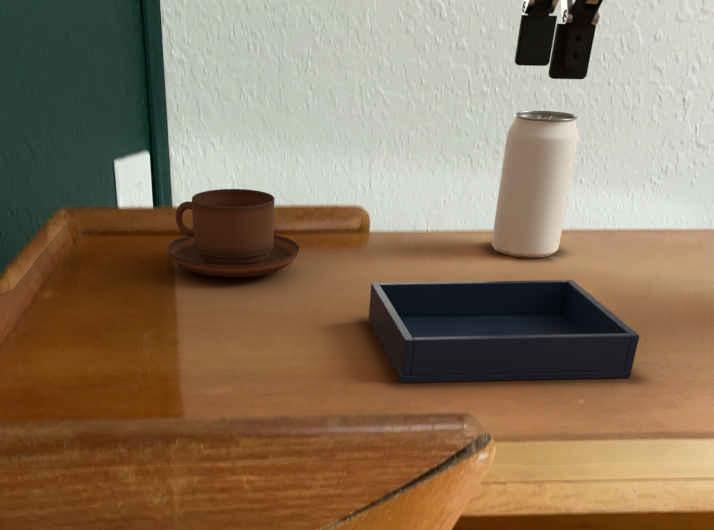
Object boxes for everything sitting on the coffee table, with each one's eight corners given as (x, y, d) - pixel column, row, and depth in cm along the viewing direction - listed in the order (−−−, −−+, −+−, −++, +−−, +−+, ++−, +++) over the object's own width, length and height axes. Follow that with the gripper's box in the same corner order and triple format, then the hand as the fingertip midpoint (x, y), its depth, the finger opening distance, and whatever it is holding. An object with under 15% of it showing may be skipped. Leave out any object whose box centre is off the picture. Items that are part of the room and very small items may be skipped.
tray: (565, 317, 78) (572, 279, 76) (630, 377, 67) (640, 335, 65) (368, 320, 76) (371, 282, 75) (401, 383, 66) (405, 340, 64)
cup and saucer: (153, 283, 84) (149, 209, 81) (186, 248, 94) (183, 181, 91) (287, 291, 83) (289, 216, 79) (307, 255, 92) (309, 186, 89)
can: (489, 256, 93) (508, 118, 86) (492, 240, 98) (510, 108, 91) (558, 261, 91) (583, 121, 84) (557, 244, 96) (581, 111, 90)
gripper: (683, -182, 69) (626, 85, 79) (596, -164, 83) (556, 61, 93) (582, -186, 69) (537, 84, 79) (512, -167, 83) (481, 60, 93)
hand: (548, 71), depth 86 cm, fingers open, 9 cm apart
